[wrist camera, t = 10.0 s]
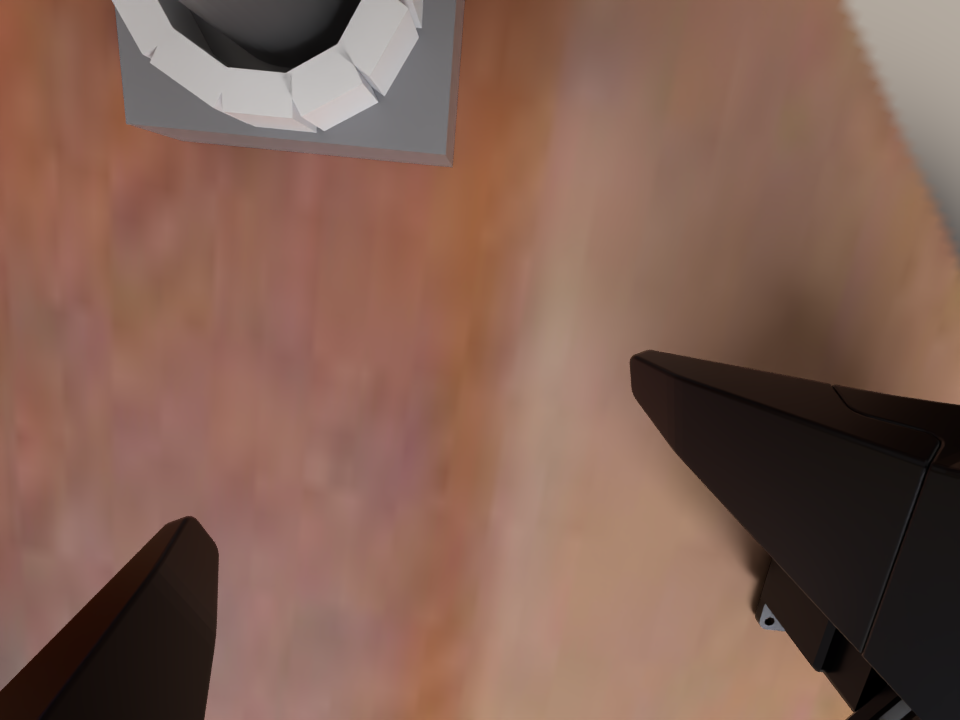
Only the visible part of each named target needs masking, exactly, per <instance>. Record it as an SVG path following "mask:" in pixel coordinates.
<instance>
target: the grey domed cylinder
mask: <svg viewBox="0 0 960 720" xmlns="http://www.w3.org/2000/svg"><path fill="white" fill-rule="evenodd" d="M178 1H179V2H181V3H182V4H183V5H185V6H186V7H187V8H189V9H190V10H191V11H193V12H194V13H195V14H197V15H198V16H200V17H201V18H202V19H204V20H205V21H206V22H208V23H209V24H210V25H212V26H213V27H214V28H216V29H217V30H218V31H220V32H221V33H223V34H224V35H225V36H227V37H228V38H229V39H231V40H232V41H233V42H235V43H236V44H237V45H239V46H240V47H241V48H243V49H244V50H245V51H247V52H248V53H250V54H251V55H253V56H254V57H256V58H258V59H259V60H262V61H264V62H266V63H269V64H272V65H275V66H279V67H287V68H295V67H297V66H299V65H301V64H303V63H304V62H306V61H308V60H310V59H312V58H313V57H315V56H317V55H319V54H321V53H322V52H324V51H326V50H328V49H330V48H331V47H333V46H335V45H337V44H338V42H339V40H340V38H341V37H342V35H343V33H344V31H345V29H346V27H347V26H348V24H349V22H350V20H351V18H352V16H353V15H354V13H355V11H356V9H357V7H358V5H359V4H360V2H361V0H178Z"/></svg>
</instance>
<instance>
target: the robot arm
mask: <svg viewBox="0 0 960 720" xmlns="http://www.w3.org/2000/svg"><path fill="white" fill-rule="evenodd" d="M630 374H631V387H632V392H633V395H634V397H635V399H636V400H637V401H638V403H639V404H640V406H641V407H642V408H643V410H644V411H645V412H646V414H647V415H648V416H649V418H650V419H651V421H652V422H653V423H654V425H655V426H656V427H657V429H658V430H659V431H660V433H661V434H662V436H663V437H664V438H665V440H666V441H667V442H668V444H669V445H670V446H671V448H672V449H673V450H674V451H675V453H676V454H677V455H678V456H679V457H680V458H681V459H682V461H683V462H684V463H685V464H686V465H687V466H688V467H689V468H690V469H691V470H692V471H693V472H694V474H695V475H696V476H697V477H698V478H699V479H700V480H701V481H702V482H703V483H704V484H705V485H706V487H707V488H708V489H709V490H710V491H711V492H712V493H713V494H714V495H715V496H716V497H717V499H718V500H719V501H720V502H721V503H722V504H723V505H724V506H725V507H726V508H727V509H728V510H729V512H730V513H731V514H732V515H733V516H734V517H735V518H736V519H737V520H738V521H739V522H740V523H741V525H742V526H743V527H744V528H745V529H746V530H747V531H748V532H749V533H750V534H751V535H752V536H753V538H754V539H755V540H756V541H757V542H758V543H759V544H760V545H761V546H762V547H763V548H764V550H765V551H766V552H767V553H768V554H769V555H770V556H771V557H772V561H771V564H770V567H769V571H768V574H767V577H766V581H765V584H764V587H763V590H762V594H761V598H760V601H759V604H758V607H757V611H756V614H755V618H756V620H757V622H758V623H759V624H760V626H761V627H762V628H763V629H767V630H778V631H786V632H787V634H788V635H789V636H790V638H791V639H792V640H793V642H794V643H795V644H796V646H797V647H798V648H799V650H800V651H801V653H802V654H803V655H804V657H805V658H806V659H807V661H808V662H809V663H810V665H811V666H812V667H813V668H814V669H815V670H816V671H818V672H823V673H824V674H825V675H826V677H827V678H828V679H829V681H830V682H831V683H832V685H833V686H834V687H835V689H836V690H837V691H838V693H839V694H840V695H841V696H842V698H843V699H844V700H845V702H846V703H847V704H848V706H849V707H850V708H851V710H852V711H853V712H854V713H853V714H852V715H850V716H849V717H848V718H847V719H846V720H960V405H956V404H949V403H942V402H935V401H928V400H922V399H915V398H908V397H901V396H895V395H889V394H883V393H878V392H872V391H866V390H860V389H855V388H850V387H845V386H840V385H833V386H831V384H828V383H823V382H818V381H813V380H807V379H802V378H797V377H791V376H786V375H781V374H775V373H770V372H765V371H760V370H754V369H749V368H744V367H738V366H733V365H728V364H723V363H717V362H712V361H707V360H701V359H696V358H691V357H686V356H680V355H675V354H670V353H664V352H659V351H654V350H646V351H643V352H641V353H638V354H635V355H633V356H632V357H631V359H630ZM218 565H219V553H218V549H217V546H216V544H215V542H214V541H213V540H212V538H211V537H210V536H209V534H208V533H207V532H206V531H205V529H204V528H203V527H202V525H201V524H200V523H199V521H198V520H197V519H196V518H194V517H192V516H186V517H183V518H180V519H178V520H175V521H172V522H169V523H168V524H166V525H165V526H164V527H163V528H162V529H161V530H160V531H159V532H158V533H157V534H156V535H155V536H154V537H153V538H152V539H151V540H150V541H149V542H148V543H147V544H146V545H145V546H144V547H143V548H142V549H141V550H140V551H139V552H138V553H137V554H136V555H135V556H134V557H133V558H132V559H131V560H130V561H129V562H128V563H127V564H126V565H125V566H124V567H123V568H122V569H121V570H120V571H119V572H118V573H117V574H116V575H115V576H114V577H113V578H112V579H111V580H110V581H109V582H108V583H107V584H106V585H105V586H104V587H103V588H102V589H101V590H100V591H99V592H98V593H97V594H96V595H95V596H94V597H93V598H92V599H91V600H90V601H89V602H88V603H87V604H86V605H85V606H84V607H83V608H82V609H81V610H80V611H79V612H78V613H77V614H76V615H75V616H74V618H73V619H72V620H71V621H70V622H69V623H68V624H67V625H66V626H65V627H64V628H63V629H62V630H61V631H60V632H59V633H58V634H57V635H56V636H55V637H54V638H53V639H52V640H51V641H50V642H49V643H48V644H47V645H46V646H45V647H44V648H43V649H42V650H41V651H40V652H39V653H38V654H37V655H36V656H35V657H34V658H33V659H32V660H31V661H30V662H29V663H28V664H27V665H26V666H25V667H24V668H23V669H22V670H21V671H20V672H19V673H18V674H17V675H16V676H15V677H14V678H13V679H12V680H11V681H10V682H9V683H8V684H7V685H6V686H5V687H4V688H3V689H2V690H1V691H0V720H204V717H205V710H206V704H207V697H208V690H209V683H210V676H211V669H212V662H213V655H214V648H215V639H216V627H217V600H218Z"/></svg>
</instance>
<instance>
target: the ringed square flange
mask: <svg viewBox="0 0 960 720" xmlns="http://www.w3.org/2000/svg"><path fill="white" fill-rule="evenodd" d="M112 1H113V3H114V5H115V12H116V23H117V33H118V43H119V54H120V64H121V74H122V85H123V95H124V106H125V116H126V124H129V125H132V126H135V127H139V128H142V129H145V130H148V131H152V132H155V133H158V134H161V135H165V136H168V137H171V138H174V139H178V140H181V141H188V142H198V143H209V144H219V145H229V146H239V147H250V148H260V149H270V150H280V151H291V152H301V153H311V154H322V155H332V156H342V157H352V158H363V159H373V160H383V161H393V162H404V163H414V164H424V165H434V166H445V167H453V155H454V142H455V128H456V114H457V101H458V87H459V73H460V59H461V46H462V32H463V18H464V5H465V0H361V2H360V4H359V5H358V7H357V9H356V11H355V13H354V15H353V16H352V18H351V20H350V22H349V24H348V26H347V27H346V29H345V31H344V33H343V35H342V37H341V38H340V40H339V42H338V44H337V45H335V46H333V47H331V48H330V49H328V50H326V51H324V52H322V53H321V54H319V55H317V56H315V57H313V58H312V59H310V60H308V61H306V62H304V63H303V64H301V65H299V66H297V67H295V68H287V67H279V66H275V65H272V64H269V63H266V62H264V61H262V60H259V59H258V58H256V57H254V56H253V55H251V54H250V53H248V52H247V51H245V50H244V49H243V48H241V47H240V46H239V45H237V44H236V43H235V42H233V41H232V40H231V39H229V38H228V37H227V36H225V35H224V34H223V33H221V32H220V31H218V30H217V29H216V28H214V27H213V26H212V25H210V24H209V23H208V22H206V21H205V20H204V19H202V18H201V17H200V16H198V15H197V14H195V13H194V12H193V11H191V10H190V9H189V8H187V7H186V6H185V5H183V4H182V3H181V2H179V1H178V0H112Z"/></svg>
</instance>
